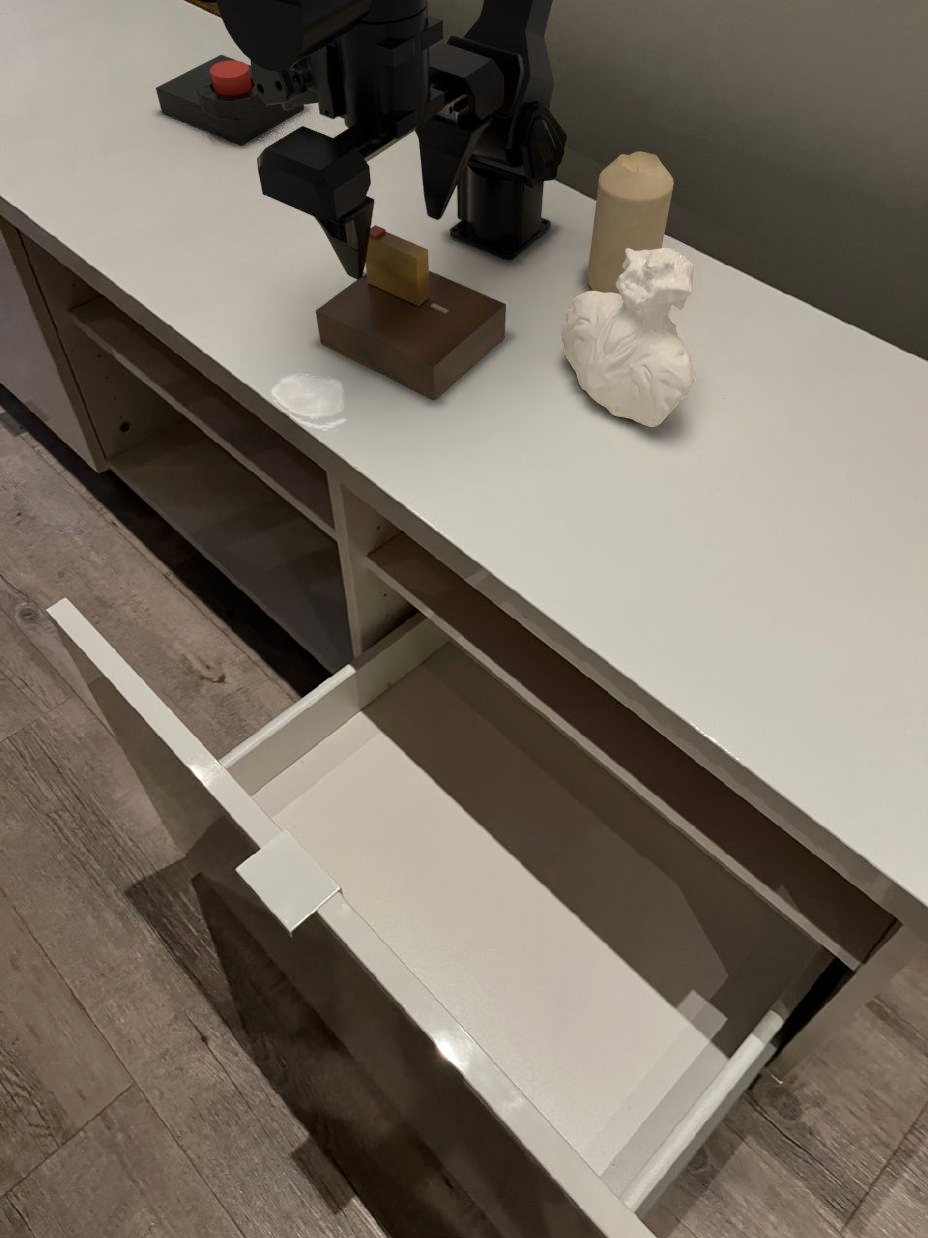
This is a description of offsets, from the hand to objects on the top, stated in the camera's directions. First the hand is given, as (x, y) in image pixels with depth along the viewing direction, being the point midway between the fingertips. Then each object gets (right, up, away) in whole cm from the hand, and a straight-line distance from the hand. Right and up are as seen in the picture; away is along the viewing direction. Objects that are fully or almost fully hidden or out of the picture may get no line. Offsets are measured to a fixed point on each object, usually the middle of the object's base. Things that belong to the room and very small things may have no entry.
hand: (395, 245), depth 67 cm
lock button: (-17, +23, +21) cm, 35 cm away
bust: (+17, -10, +1) cm, 20 cm away
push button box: (-18, +24, +26) cm, 39 cm away
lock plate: (+1, -6, +4) cm, 7 cm away
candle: (+18, 0, +9) cm, 20 cm away
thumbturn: (0, -2, +3) cm, 4 cm away
